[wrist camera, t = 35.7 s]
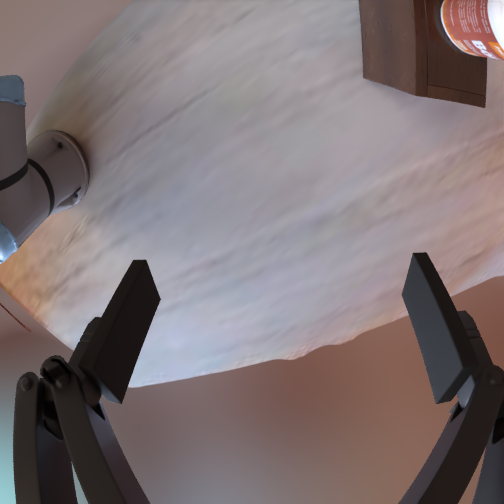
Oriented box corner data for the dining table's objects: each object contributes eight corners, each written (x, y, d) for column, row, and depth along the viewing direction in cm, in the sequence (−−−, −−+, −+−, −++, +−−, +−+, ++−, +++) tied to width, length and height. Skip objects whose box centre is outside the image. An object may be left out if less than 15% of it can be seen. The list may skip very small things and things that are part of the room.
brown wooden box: (418, 97, 20) (537, 123, 19) (403, -67, 11) (533, -13, 9) (363, 78, 35) (457, 90, 34) (355, -25, 26) (454, -4, 24)
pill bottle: (442, 50, 18) (525, 63, 9) (432, -13, 14) (510, -31, 6) (494, 59, 17) (577, 82, 8) (486, 0, 13) (568, 1, 4)
